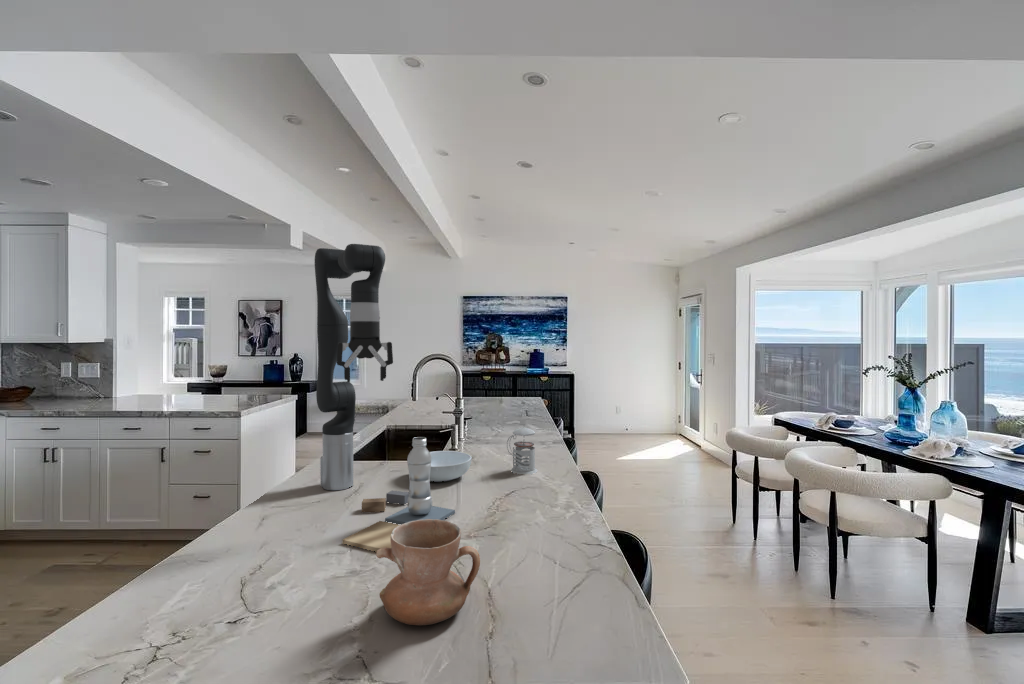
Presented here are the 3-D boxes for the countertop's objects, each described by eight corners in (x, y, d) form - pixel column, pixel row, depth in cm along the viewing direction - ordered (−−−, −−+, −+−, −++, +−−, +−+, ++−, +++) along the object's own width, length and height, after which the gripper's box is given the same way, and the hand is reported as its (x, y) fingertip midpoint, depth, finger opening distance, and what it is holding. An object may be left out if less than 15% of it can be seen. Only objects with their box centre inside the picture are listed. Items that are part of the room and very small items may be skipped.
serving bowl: (419, 468, 182) (419, 449, 181) (476, 470, 179) (476, 451, 179) (399, 486, 161) (399, 464, 161) (463, 488, 158) (463, 467, 158)
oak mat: (342, 543, 117) (342, 539, 117) (379, 524, 128) (379, 520, 128) (386, 554, 111) (386, 550, 111) (421, 533, 123) (421, 529, 123)
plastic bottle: (436, 511, 135) (436, 436, 135) (424, 519, 129) (423, 442, 129) (416, 508, 138) (415, 435, 137) (402, 516, 131) (401, 440, 131)
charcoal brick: (386, 503, 145) (386, 493, 145) (391, 500, 148) (391, 490, 148) (404, 506, 143) (404, 495, 143) (410, 502, 146) (410, 492, 146)
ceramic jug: (367, 638, 81) (369, 550, 80) (382, 591, 95) (383, 516, 95) (480, 634, 82) (482, 548, 82) (478, 588, 97) (479, 515, 96)
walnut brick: (361, 513, 137) (361, 502, 137) (363, 509, 140) (363, 499, 140) (384, 512, 138) (384, 501, 138) (385, 508, 141) (385, 498, 141)
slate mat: (385, 522, 130) (385, 518, 130) (415, 506, 142) (415, 502, 142) (426, 530, 125) (426, 526, 125) (454, 513, 136) (454, 509, 136)
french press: (528, 476, 172) (528, 403, 171) (500, 471, 178) (500, 400, 177) (542, 469, 180) (542, 399, 179) (515, 465, 186) (515, 397, 186)
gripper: (391, 320, 140) (391, 379, 140) (336, 320, 135) (337, 380, 135) (393, 320, 133) (394, 381, 133) (336, 319, 128) (336, 383, 128)
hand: (365, 381), depth 134 cm, fingers open, 8 cm apart
